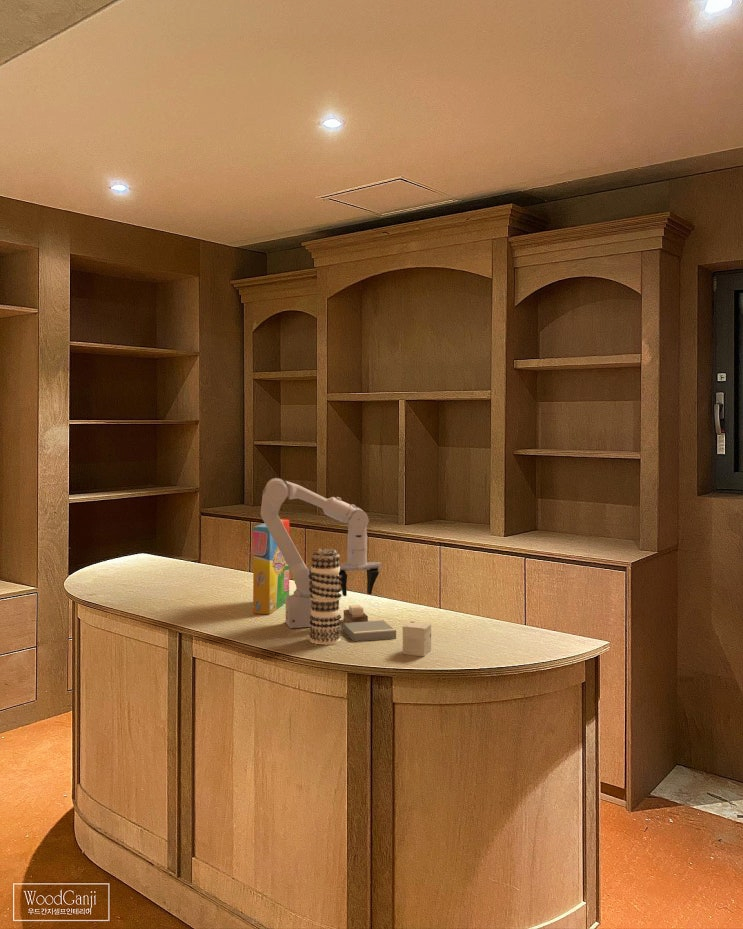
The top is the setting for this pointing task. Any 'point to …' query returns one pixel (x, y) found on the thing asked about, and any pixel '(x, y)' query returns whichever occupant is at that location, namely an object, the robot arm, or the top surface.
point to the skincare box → (417, 638)
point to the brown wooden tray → (350, 619)
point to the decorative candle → (325, 597)
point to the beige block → (355, 610)
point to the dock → (369, 630)
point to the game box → (268, 571)
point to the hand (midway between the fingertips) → (356, 594)
